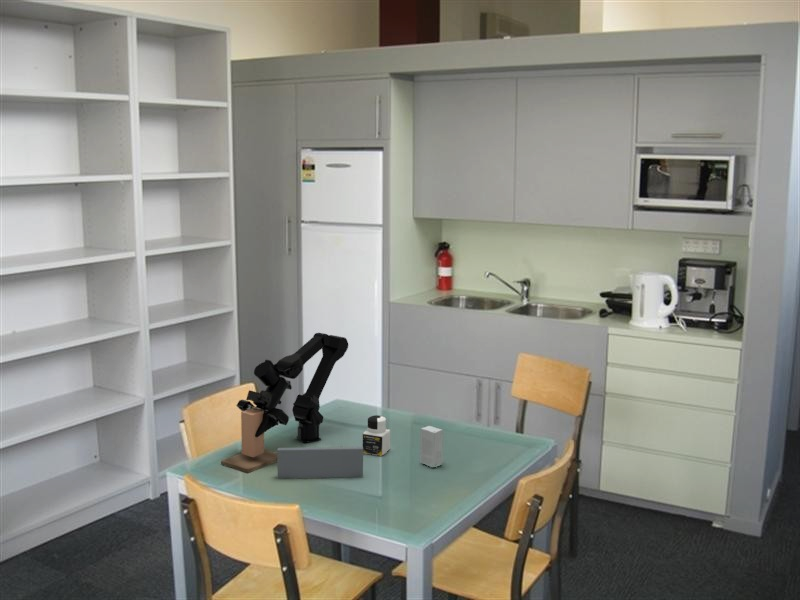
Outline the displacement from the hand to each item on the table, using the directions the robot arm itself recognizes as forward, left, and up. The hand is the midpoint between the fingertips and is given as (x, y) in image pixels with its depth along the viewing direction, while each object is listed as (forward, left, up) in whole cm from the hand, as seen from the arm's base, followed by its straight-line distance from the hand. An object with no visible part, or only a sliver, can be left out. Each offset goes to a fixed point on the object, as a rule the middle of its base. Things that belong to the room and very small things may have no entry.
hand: (249, 434), depth 268 cm
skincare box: (-49, +30, -9) cm, 59 cm away
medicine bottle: (-40, +11, -9) cm, 43 cm away
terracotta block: (-1, -1, -7) cm, 7 cm away
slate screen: (-15, +20, -9) cm, 26 cm away
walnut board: (-1, -1, -9) cm, 9 cm away
